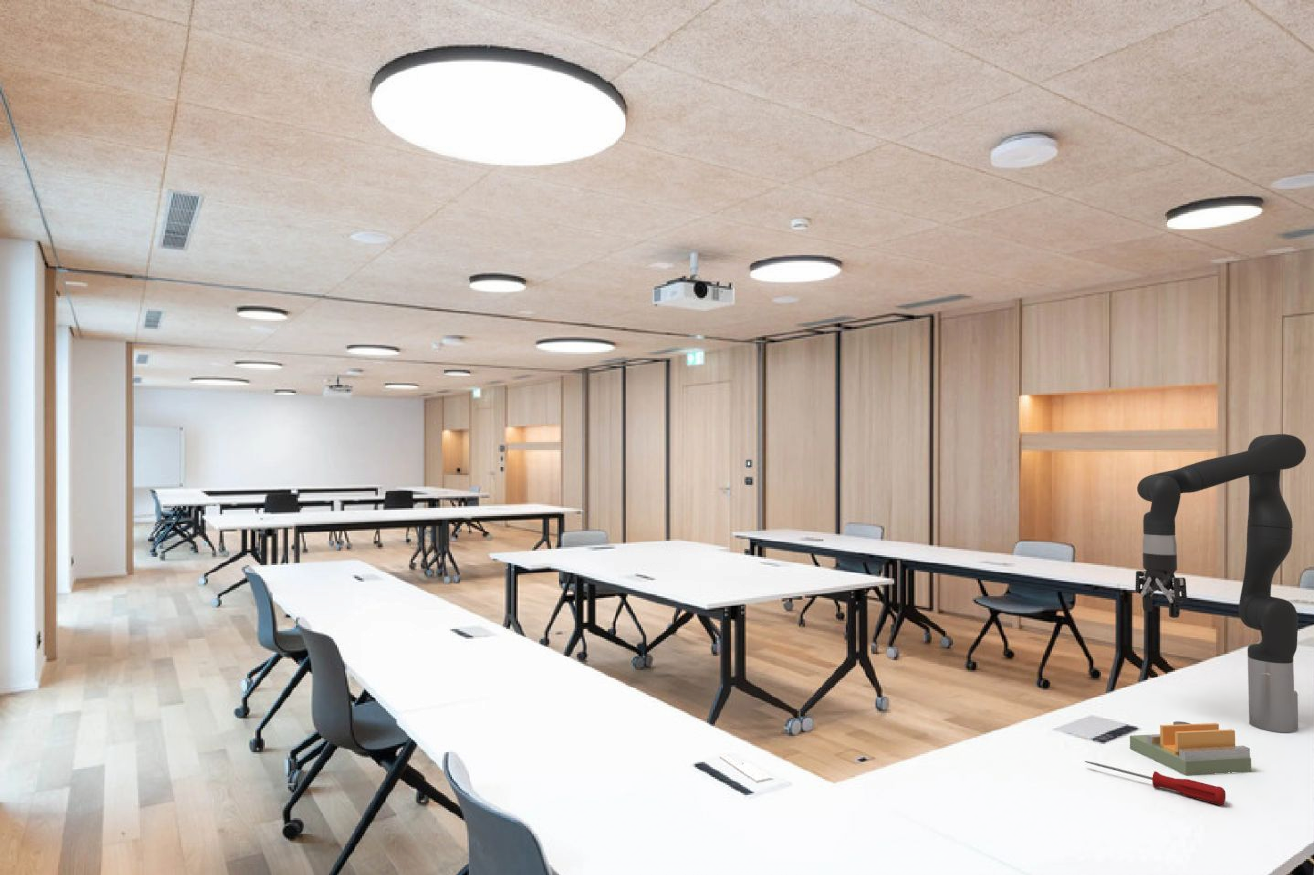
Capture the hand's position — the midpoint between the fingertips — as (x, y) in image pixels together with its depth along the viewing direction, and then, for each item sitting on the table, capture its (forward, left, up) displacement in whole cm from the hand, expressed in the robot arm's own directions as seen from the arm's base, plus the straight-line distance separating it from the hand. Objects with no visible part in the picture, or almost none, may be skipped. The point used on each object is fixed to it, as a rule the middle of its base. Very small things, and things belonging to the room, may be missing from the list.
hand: (1160, 614), depth 200 cm
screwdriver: (+34, +35, -28) cm, 56 cm away
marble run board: (+14, +23, -28) cm, 39 cm away
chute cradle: (+14, +26, -25) cm, 38 cm away
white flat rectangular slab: (+115, +15, -29) cm, 119 cm away
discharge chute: (+14, +26, -25) cm, 38 cm away
